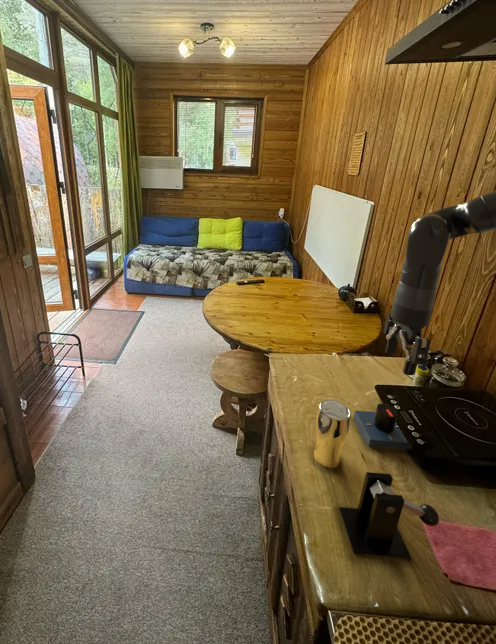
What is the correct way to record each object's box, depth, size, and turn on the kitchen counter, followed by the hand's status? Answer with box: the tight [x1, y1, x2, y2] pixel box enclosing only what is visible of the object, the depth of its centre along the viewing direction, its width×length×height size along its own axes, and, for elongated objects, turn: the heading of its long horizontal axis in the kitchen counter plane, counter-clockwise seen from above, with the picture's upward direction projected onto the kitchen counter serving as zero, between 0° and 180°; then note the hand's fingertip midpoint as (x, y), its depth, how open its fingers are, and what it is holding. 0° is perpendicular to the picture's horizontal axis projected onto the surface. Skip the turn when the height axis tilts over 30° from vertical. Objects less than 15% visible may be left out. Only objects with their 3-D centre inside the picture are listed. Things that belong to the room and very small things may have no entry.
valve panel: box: [353, 410, 412, 450], centre depth 81 cm, size 11×10×3 cm
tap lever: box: [370, 481, 440, 527], centre depth 56 cm, size 13×3×3 cm, turn 84°
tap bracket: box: [338, 471, 412, 560], centre depth 57 cm, size 10×8×13 cm
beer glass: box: [313, 398, 352, 468], centre depth 72 cm, size 7×7×15 cm
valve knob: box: [373, 403, 399, 433], centre depth 80 cm, size 5×5×5 cm
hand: (398, 363), depth 75 cm, fingers open, 8 cm apart
